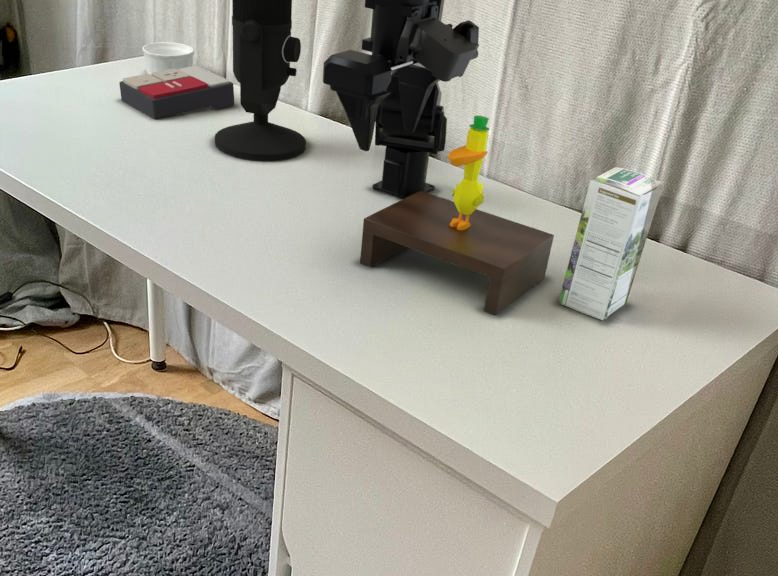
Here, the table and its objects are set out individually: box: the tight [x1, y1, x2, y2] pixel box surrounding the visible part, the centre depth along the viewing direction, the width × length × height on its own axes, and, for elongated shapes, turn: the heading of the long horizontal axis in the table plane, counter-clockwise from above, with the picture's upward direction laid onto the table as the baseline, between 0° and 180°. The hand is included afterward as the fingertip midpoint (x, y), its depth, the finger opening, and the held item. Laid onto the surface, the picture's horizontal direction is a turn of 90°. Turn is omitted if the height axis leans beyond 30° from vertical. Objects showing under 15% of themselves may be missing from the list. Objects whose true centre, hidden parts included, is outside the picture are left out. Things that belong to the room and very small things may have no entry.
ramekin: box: [142, 41, 195, 75], centre depth 157 cm, size 9×9×4 cm
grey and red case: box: [118, 65, 235, 120], centre depth 144 cm, size 11×4×15 cm
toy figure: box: [447, 115, 490, 230], centre depth 97 cm, size 7×4×12 cm, turn 135°
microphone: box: [214, 0, 307, 162], centre depth 125 cm, size 14×14×25 cm
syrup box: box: [558, 166, 664, 321], centre depth 95 cm, size 6×6×14 cm
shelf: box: [359, 191, 555, 316], centre depth 102 cm, size 12×18×6 cm, turn 54°
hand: (387, 140), depth 101 cm, fingers open, 9 cm apart
